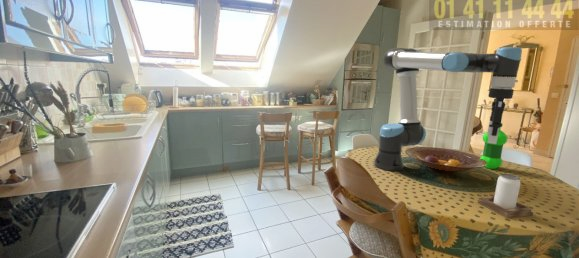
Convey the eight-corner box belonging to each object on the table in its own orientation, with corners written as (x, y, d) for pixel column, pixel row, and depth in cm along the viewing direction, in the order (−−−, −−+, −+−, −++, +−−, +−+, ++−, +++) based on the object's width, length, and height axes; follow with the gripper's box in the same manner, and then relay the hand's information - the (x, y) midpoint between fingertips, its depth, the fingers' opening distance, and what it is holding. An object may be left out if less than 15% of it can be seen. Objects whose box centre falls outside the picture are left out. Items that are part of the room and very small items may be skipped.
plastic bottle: (503, 171, 135) (512, 125, 130) (479, 168, 140) (486, 123, 135) (499, 166, 144) (508, 122, 138) (477, 163, 149) (484, 120, 144)
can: (489, 203, 99) (494, 174, 97) (500, 200, 101) (505, 172, 99) (507, 211, 93) (514, 180, 91) (519, 208, 95) (525, 178, 93)
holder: (506, 218, 91) (507, 211, 90) (477, 202, 102) (478, 196, 101) (532, 215, 93) (534, 209, 92) (501, 200, 104) (502, 194, 103)
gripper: (518, 90, 89) (505, 148, 94) (510, 87, 109) (500, 135, 114) (491, 89, 93) (480, 144, 98) (488, 86, 113) (479, 132, 118)
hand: (491, 139), depth 106 cm, fingers open, 13 cm apart
